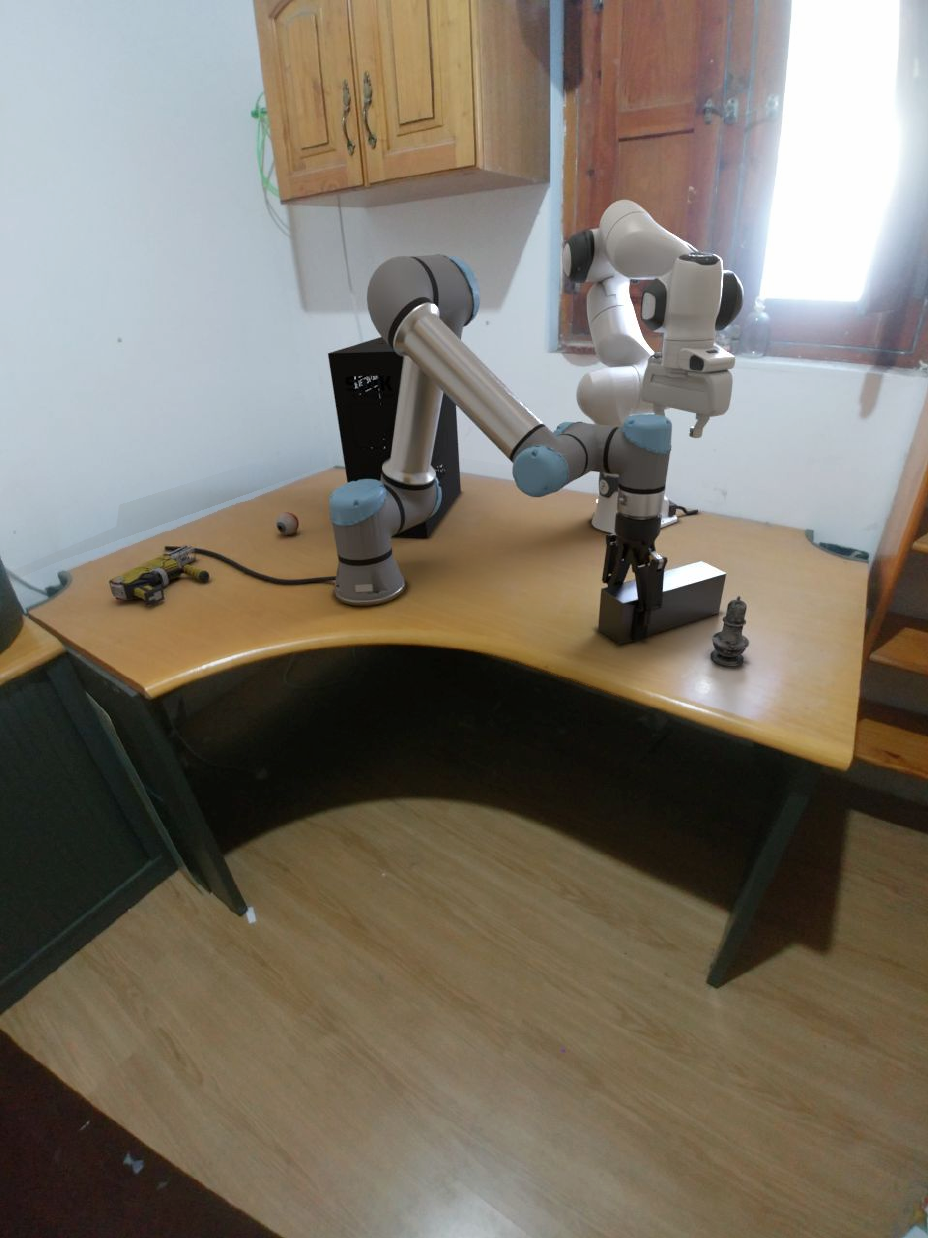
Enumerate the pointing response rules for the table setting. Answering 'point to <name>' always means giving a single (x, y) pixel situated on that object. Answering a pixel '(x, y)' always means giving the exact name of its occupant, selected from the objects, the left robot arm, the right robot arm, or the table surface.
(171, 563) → the toy gun
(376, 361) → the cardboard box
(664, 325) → the right robot arm
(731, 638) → the dark grey chess piece
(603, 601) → the box
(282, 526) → the eyeball
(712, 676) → the table surface
